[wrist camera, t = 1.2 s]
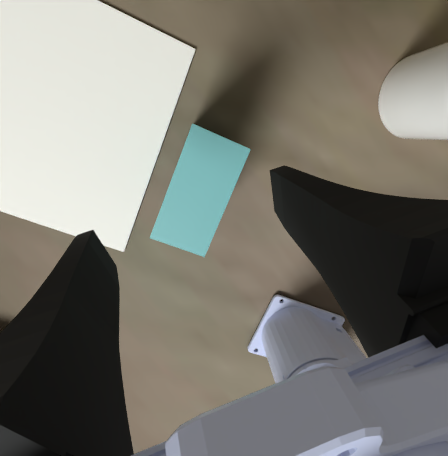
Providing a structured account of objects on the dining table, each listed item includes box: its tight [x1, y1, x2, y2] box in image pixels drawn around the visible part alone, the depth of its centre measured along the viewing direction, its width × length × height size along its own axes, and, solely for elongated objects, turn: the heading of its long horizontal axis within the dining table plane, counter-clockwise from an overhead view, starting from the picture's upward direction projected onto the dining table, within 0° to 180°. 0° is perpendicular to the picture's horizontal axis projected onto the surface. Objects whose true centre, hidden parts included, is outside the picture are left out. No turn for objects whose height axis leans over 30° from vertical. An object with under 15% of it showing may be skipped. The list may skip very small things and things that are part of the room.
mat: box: [0, 0, 196, 252], centre depth 26 cm, size 20×20×1 cm
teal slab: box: [150, 124, 251, 257], centre depth 25 cm, size 4×8×10 cm, turn 157°
